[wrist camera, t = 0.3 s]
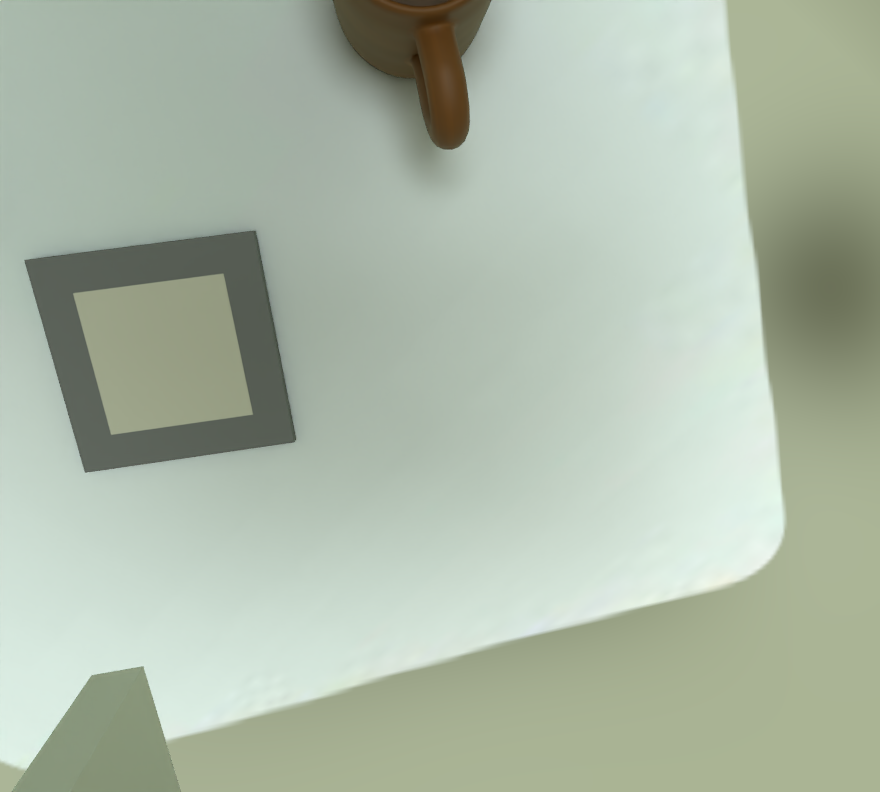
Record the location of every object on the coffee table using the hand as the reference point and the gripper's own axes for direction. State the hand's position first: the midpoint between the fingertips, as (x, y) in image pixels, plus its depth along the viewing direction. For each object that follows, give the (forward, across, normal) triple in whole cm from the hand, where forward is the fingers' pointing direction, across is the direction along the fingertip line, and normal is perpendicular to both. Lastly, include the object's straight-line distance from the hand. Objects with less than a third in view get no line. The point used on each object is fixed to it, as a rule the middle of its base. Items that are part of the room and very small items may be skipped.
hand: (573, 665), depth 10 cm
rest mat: (+27, -15, +3) cm, 31 cm away
